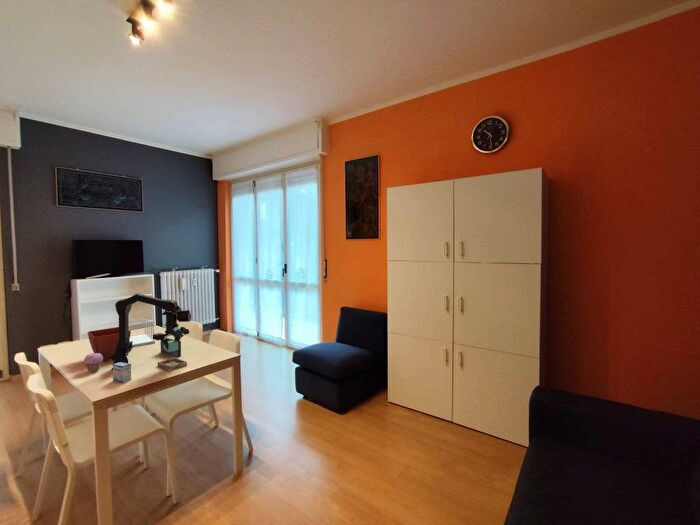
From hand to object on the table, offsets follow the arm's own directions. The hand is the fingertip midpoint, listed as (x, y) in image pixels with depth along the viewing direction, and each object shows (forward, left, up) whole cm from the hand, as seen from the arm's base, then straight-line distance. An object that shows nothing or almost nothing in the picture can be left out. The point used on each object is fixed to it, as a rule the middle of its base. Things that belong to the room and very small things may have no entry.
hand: (171, 348), depth 196 cm
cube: (0, 0, -1) cm, 1 cm away
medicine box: (-26, 0, -11) cm, 28 cm away
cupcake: (-29, +28, -10) cm, 42 cm away
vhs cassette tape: (+11, +22, -11) cm, 27 cm away
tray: (0, 0, -10) cm, 10 cm away
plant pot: (-14, +47, -11) cm, 51 cm away
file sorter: (+13, +71, -11) cm, 73 cm away
